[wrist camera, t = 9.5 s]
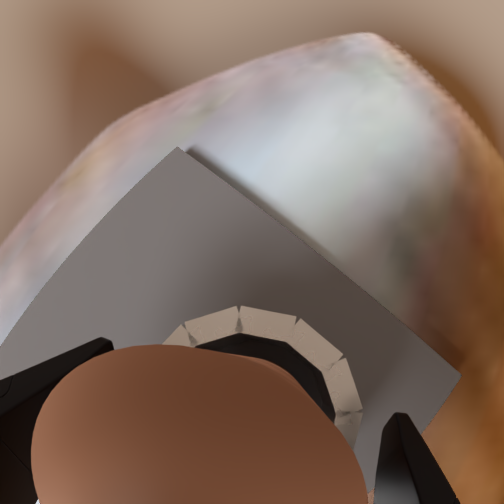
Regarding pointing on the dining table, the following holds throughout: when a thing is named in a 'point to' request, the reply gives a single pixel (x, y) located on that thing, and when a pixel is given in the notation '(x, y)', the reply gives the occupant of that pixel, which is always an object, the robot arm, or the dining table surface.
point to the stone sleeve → (296, 341)
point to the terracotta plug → (188, 434)
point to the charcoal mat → (225, 296)
